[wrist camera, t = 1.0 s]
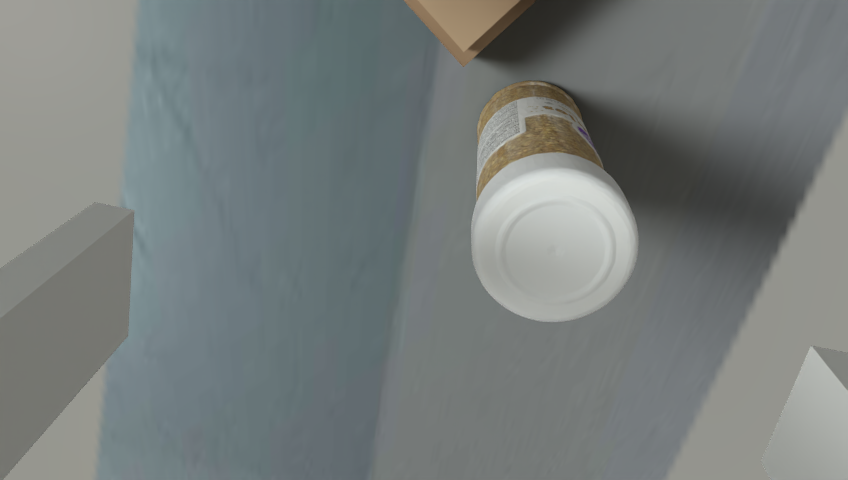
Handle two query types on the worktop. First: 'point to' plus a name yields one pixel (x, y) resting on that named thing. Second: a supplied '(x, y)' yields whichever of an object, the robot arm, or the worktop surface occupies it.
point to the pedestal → (467, 22)
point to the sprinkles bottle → (547, 209)
